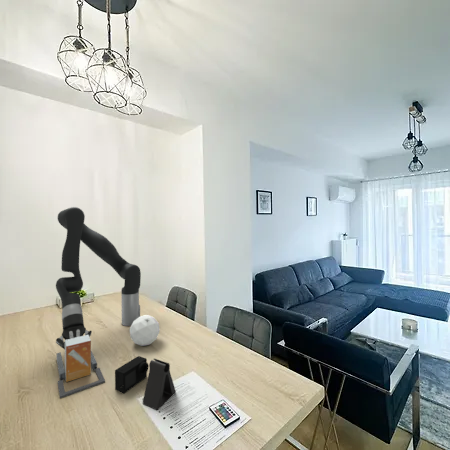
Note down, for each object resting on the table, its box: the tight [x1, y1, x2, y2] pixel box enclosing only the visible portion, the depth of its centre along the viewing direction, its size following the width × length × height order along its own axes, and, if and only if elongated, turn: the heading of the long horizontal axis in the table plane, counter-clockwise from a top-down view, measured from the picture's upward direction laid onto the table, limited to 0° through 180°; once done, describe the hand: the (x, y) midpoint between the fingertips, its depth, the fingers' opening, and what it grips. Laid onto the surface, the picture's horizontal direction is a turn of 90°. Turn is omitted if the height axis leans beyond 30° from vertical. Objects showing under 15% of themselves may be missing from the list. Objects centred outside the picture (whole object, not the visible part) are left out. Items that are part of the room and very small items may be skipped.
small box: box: [64, 334, 92, 383], centre depth 94 cm, size 8×6×13 cm
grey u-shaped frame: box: [56, 350, 98, 381], centre depth 101 cm, size 12×18×2 cm, turn 37°
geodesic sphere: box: [129, 314, 161, 347], centre depth 117 cm, size 14×14×14 cm
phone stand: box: [142, 358, 177, 411], centre depth 81 cm, size 9×6×12 cm, turn 152°
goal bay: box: [57, 367, 106, 399], centre depth 89 cm, size 14×10×1 cm
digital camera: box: [114, 355, 150, 394], centre depth 88 cm, size 10×5×7 cm, turn 151°
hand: (76, 358), depth 97 cm, fingers closed
